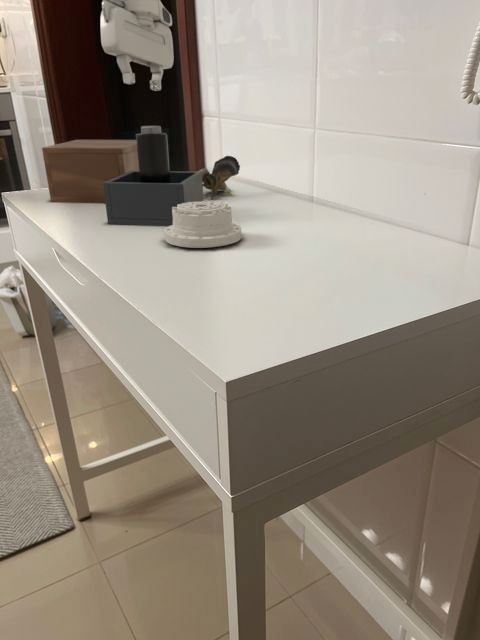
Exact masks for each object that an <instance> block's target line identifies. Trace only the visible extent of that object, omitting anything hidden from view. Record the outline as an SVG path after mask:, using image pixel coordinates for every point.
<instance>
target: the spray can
mask: <svg viewBox="0 0 480 640" xmlns="http://www.w3.org/2000/svg"><path fill="white" fill-rule="evenodd" d="M135 140H136V141H137V152H138V162H139V172H140V182H141V183H170V170H171V169H170V157H169V144H168V134H167V132H162V127H161V126H160V125H142V126H140V132H139V133H135Z"/></svg>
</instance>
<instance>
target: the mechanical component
mask: <svg viewBox="0 0 480 640" xmlns="http://www.w3.org/2000/svg"><path fill="white" fill-rule="evenodd" d="M172 215H173V225H171V226H168V225H167V227H165V228H164V229H163V237H164V238H163V239H164V241H165V242H166V243H167V244H170V245H172V246H177V247H181V248H191V249H193V248H194V249H203V248H216V247H222V246H223V247H224V246H228V245H232V244H234V243H237V242H239V241H240V240H242V227H241V225H239V224H236V223H234V222H233V217H232V216H233V215H232V206H231V205H228V203H224V202H223V201H222V202H219V201H208V200H207V201H206V200H203V201H201V202H188V203H182V204H177V207H172Z"/></svg>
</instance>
